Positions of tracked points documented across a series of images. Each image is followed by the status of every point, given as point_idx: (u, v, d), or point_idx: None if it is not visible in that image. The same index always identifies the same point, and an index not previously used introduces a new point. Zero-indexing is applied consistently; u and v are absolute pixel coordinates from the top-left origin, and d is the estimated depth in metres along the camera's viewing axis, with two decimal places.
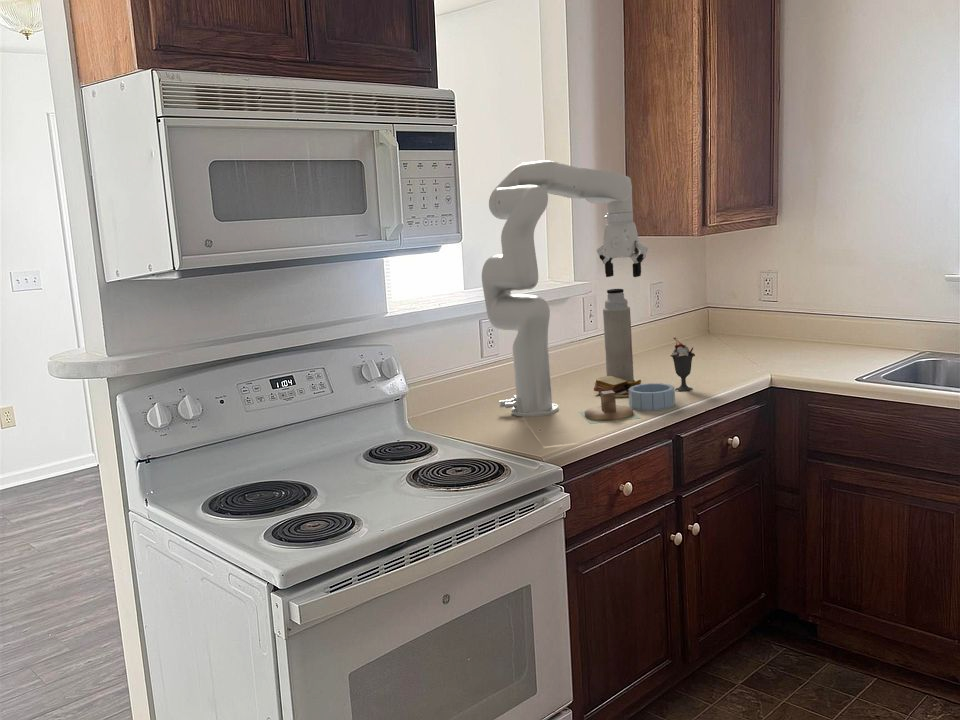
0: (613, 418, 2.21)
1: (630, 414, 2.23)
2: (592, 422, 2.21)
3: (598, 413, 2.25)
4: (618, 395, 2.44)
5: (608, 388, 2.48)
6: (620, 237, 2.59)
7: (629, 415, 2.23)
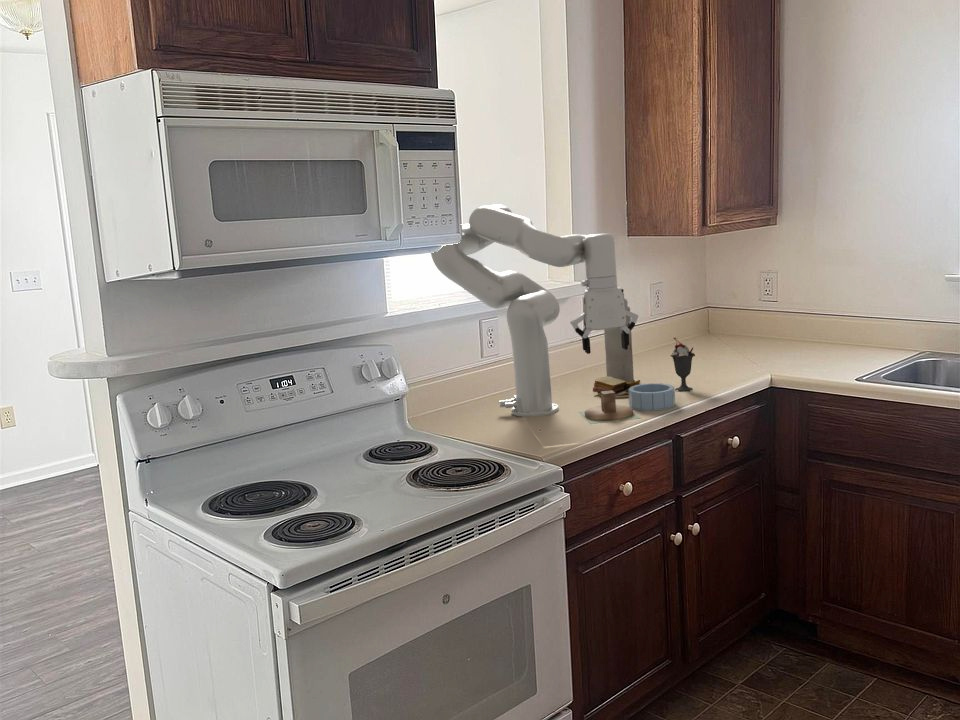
0: (613, 418, 2.21)
1: (630, 414, 2.23)
2: (592, 422, 2.21)
3: (598, 413, 2.25)
4: (618, 396, 2.44)
5: (607, 389, 2.48)
6: (612, 305, 2.19)
7: (629, 415, 2.23)
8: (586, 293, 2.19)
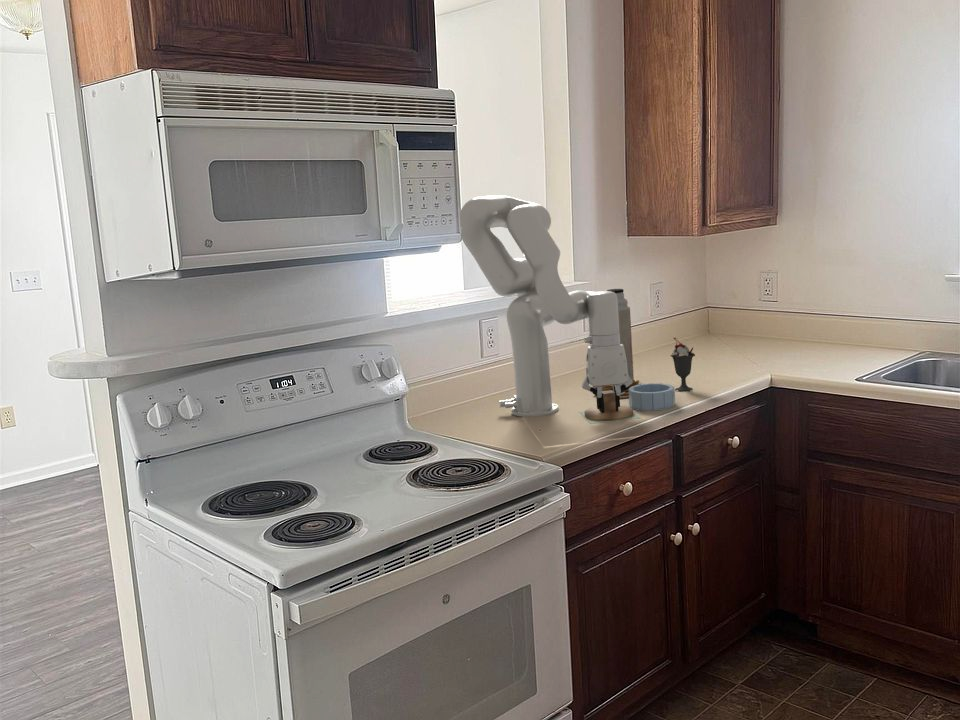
0: (613, 418, 2.21)
1: (630, 414, 2.23)
2: (592, 422, 2.21)
3: (598, 413, 2.25)
4: None
5: (606, 389, 2.47)
6: (615, 362, 2.22)
7: (629, 415, 2.23)
8: (589, 350, 2.22)
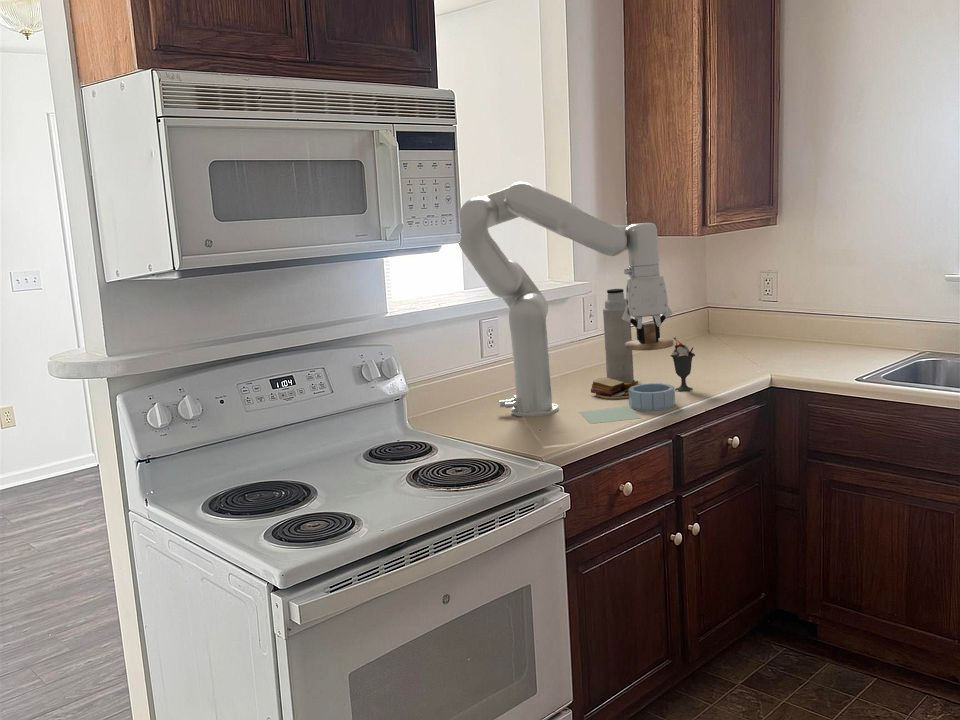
0: (654, 347, 2.24)
1: (670, 344, 2.26)
2: (592, 422, 2.21)
3: (638, 344, 2.28)
4: (617, 396, 2.43)
5: (606, 390, 2.47)
6: (655, 293, 2.25)
7: (670, 345, 2.26)
8: (629, 281, 2.25)
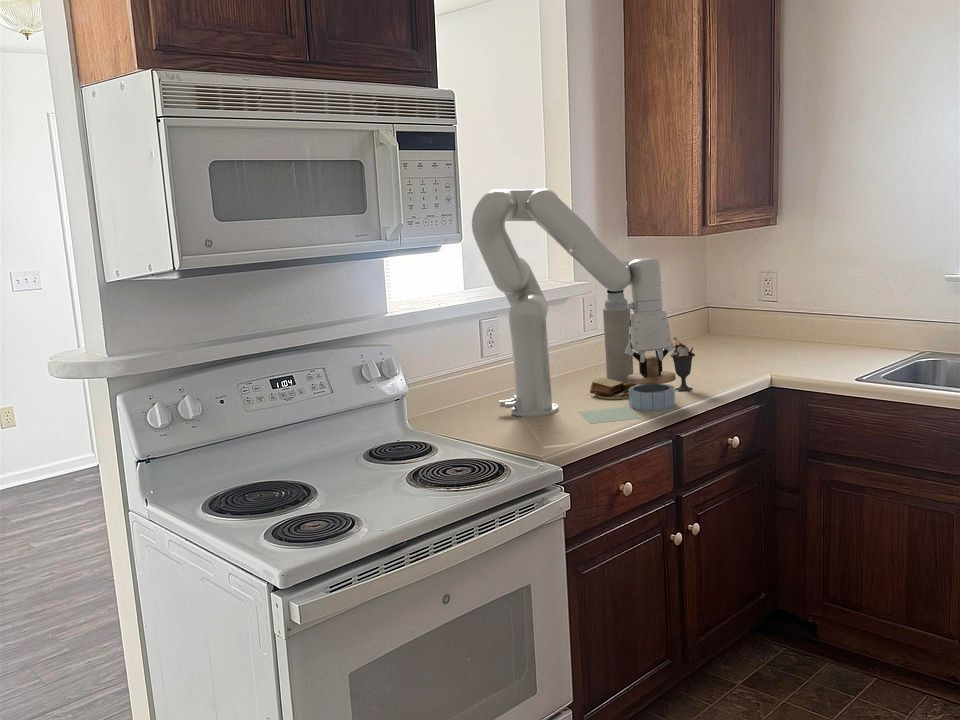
0: (657, 381, 2.25)
1: (673, 378, 2.28)
2: (592, 422, 2.21)
3: (641, 377, 2.30)
4: (617, 397, 2.43)
5: (605, 390, 2.46)
6: (658, 327, 2.27)
7: (672, 379, 2.27)
8: (632, 316, 2.27)
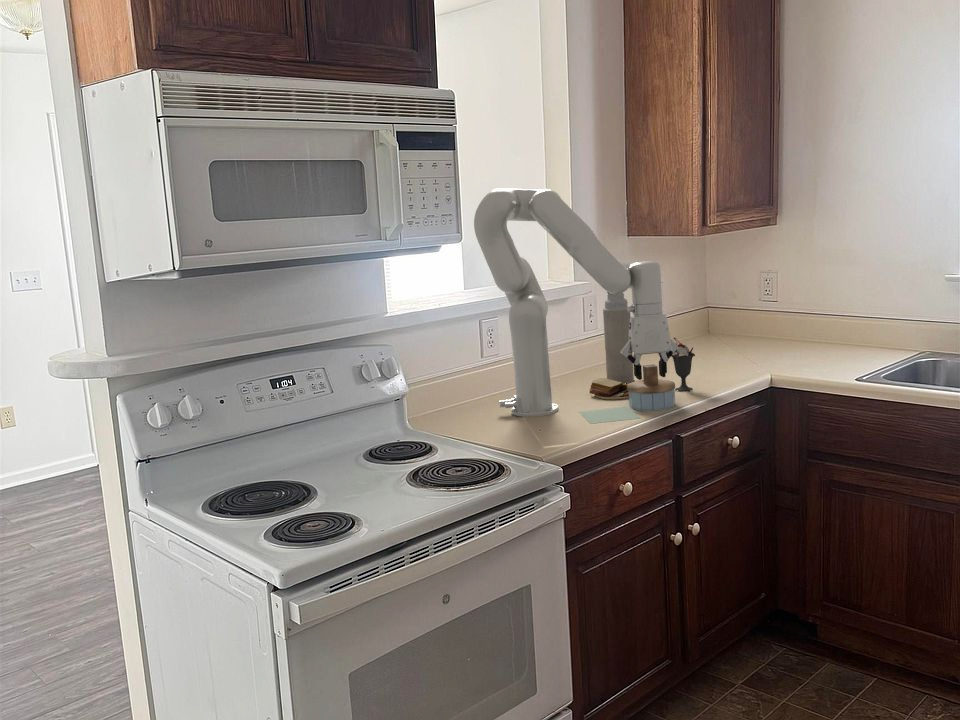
0: (656, 391, 2.26)
1: (672, 387, 2.28)
2: (592, 422, 2.21)
3: (641, 386, 2.30)
4: (616, 397, 2.42)
5: (605, 390, 2.46)
6: (658, 330, 2.27)
7: (672, 388, 2.28)
8: (632, 319, 2.27)
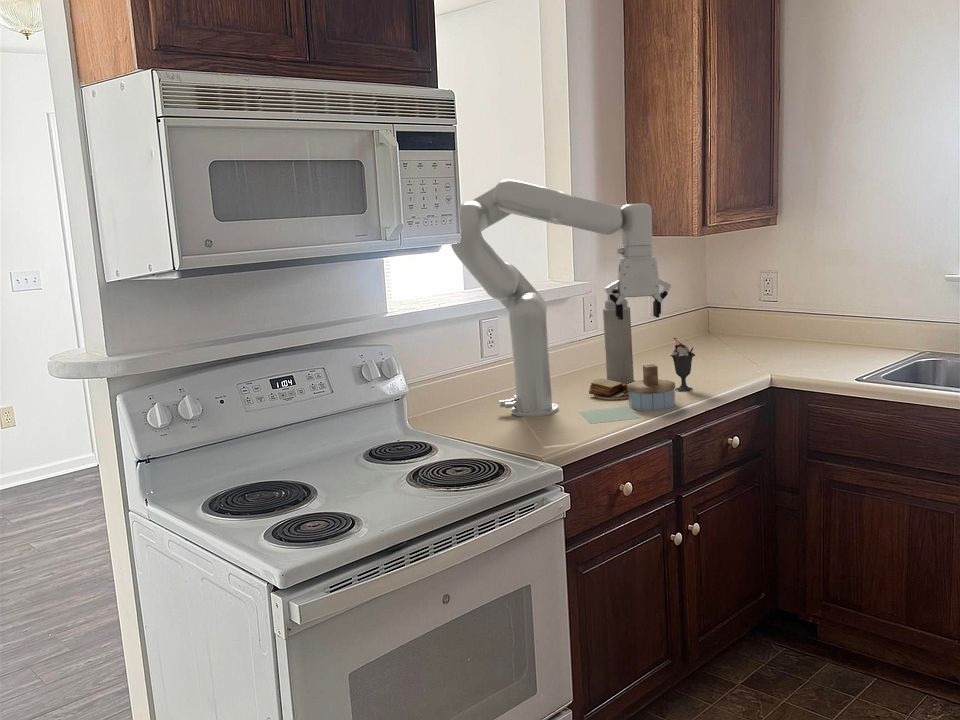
0: (656, 391, 2.26)
1: (672, 387, 2.28)
2: (592, 422, 2.21)
3: (641, 386, 2.30)
4: (616, 397, 2.42)
5: (604, 391, 2.45)
6: (647, 273, 2.26)
7: (672, 388, 2.28)
8: (622, 260, 2.26)
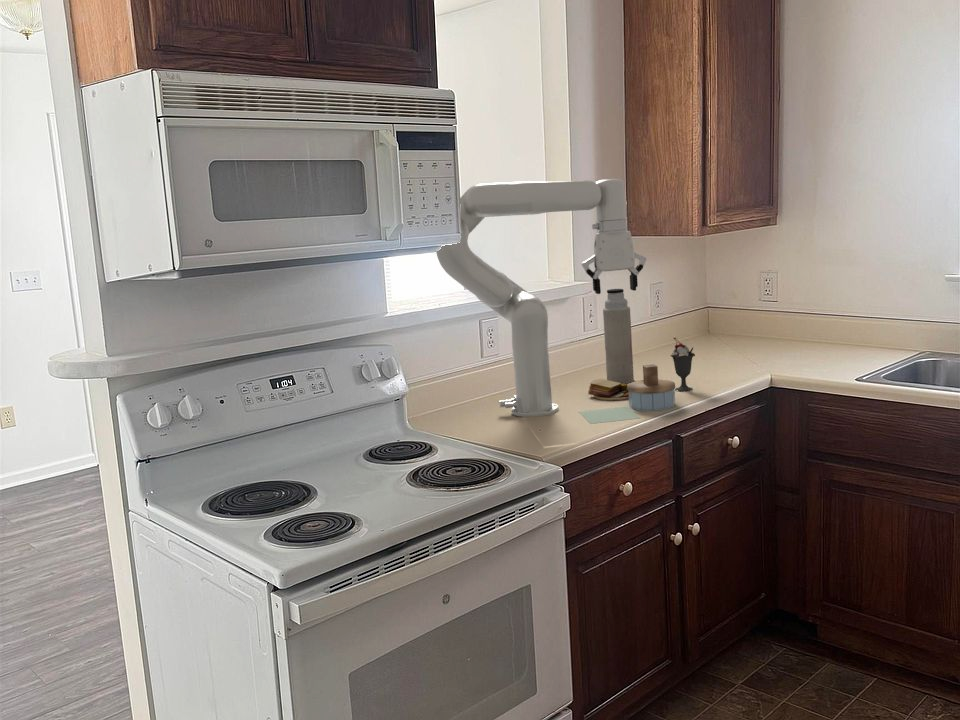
0: (656, 391, 2.26)
1: (672, 387, 2.28)
2: (592, 422, 2.21)
3: (641, 386, 2.30)
4: (616, 398, 2.42)
5: (604, 391, 2.45)
6: (622, 247, 2.30)
7: (672, 388, 2.28)
8: (597, 235, 2.30)
